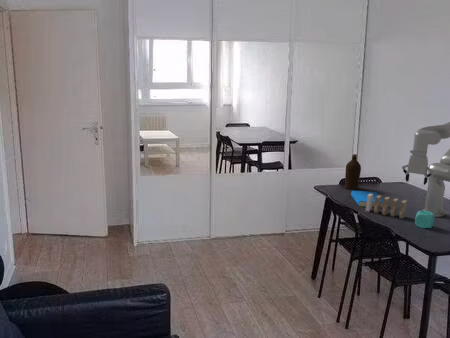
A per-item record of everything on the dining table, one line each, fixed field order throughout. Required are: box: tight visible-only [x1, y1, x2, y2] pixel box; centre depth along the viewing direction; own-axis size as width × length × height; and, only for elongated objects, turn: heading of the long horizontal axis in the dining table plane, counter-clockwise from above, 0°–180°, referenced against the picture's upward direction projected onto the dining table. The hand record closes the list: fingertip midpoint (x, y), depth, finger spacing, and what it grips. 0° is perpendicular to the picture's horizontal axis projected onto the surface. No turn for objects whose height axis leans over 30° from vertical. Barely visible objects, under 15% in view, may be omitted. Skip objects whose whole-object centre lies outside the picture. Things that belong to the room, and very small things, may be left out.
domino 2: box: [381, 196, 391, 216], centre depth 281 cm, size 2×5×10 cm, turn 145°
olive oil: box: [344, 153, 362, 191], centre depth 335 cm, size 11×11×25 cm
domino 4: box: [398, 199, 408, 220], centre depth 276 cm, size 2×5×10 cm, turn 145°
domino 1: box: [373, 194, 382, 214], centre depth 284 cm, size 2×5×10 cm, turn 145°
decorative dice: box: [414, 210, 435, 229], centre depth 262 cm, size 8×8×8 cm
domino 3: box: [390, 197, 399, 217], centre depth 278 cm, size 2×5×10 cm, turn 145°
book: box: [350, 190, 384, 209], centre depth 307 cm, size 17×4×25 cm
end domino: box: [365, 194, 373, 213], centre depth 286 cm, size 2×5×10 cm, turn 146°
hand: (415, 182), depth 269 cm, fingers open, 9 cm apart
